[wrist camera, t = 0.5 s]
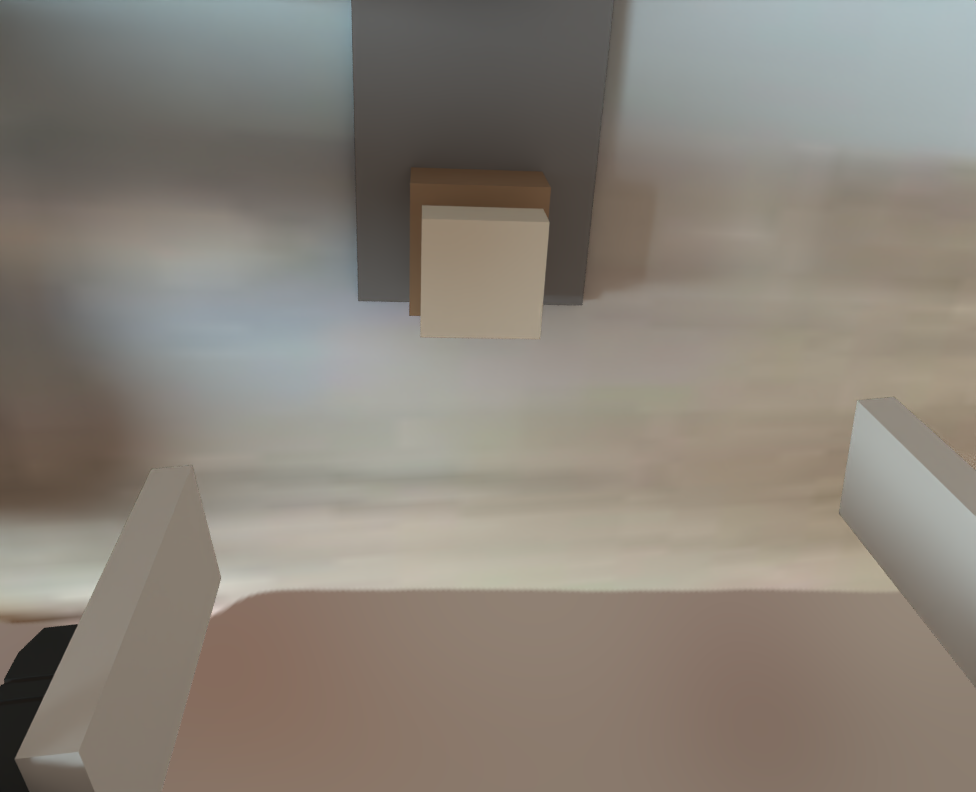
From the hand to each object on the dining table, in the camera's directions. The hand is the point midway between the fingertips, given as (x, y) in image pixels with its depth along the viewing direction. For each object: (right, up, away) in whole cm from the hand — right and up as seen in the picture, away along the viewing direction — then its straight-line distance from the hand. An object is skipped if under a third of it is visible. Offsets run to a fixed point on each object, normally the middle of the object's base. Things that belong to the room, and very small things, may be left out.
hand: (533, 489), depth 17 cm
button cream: (-1, +9, +22) cm, 24 cm away
